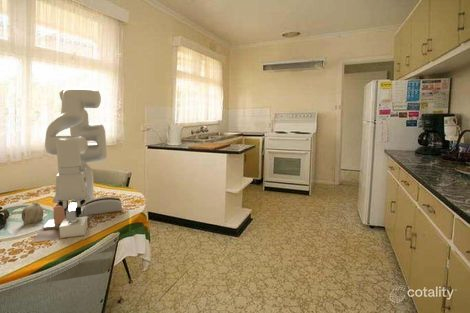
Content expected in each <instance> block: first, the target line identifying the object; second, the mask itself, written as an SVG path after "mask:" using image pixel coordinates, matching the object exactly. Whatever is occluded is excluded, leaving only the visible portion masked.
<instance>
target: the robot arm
mask: <svg viewBox="0 0 470 313" xmlns="http://www.w3.org/2000/svg"><path fill="white" fill-rule="evenodd" d="M58 95H59V98H60V100H61V108H60V115H59V116H57V117H56V118H55V119H54V120H52V121H51V122H50V123H49V125H48V126H47V128H46V131H45V140H44V148H45V151H46V153H47V154H49V155H51V156H56V159H57V174H56V176H55V189H54V191H55V195H54V197H53V199H52V203H54V204H56V203H57V204H59V205H61V206H62V207H63V208H64V212H65V216H66V210H67V208H68V207H69V205H68V202H69V201H71V200H76V202H77V207H76V211H77V217H79V216H80V214H81V207H82V206H85V203H86V202H87V201H89V200H92V199H95V198H96V197H95V191H94V190H95V188H94V171H93V168H92V167H91V166H90V164H88V163H95V162H97V163H98V162H103V161H106V159H107V138H106V137H107V136H106V130H105V127H104V124H102V123H97V122H96V123H95V122H94V123H92V122H90V120H89V114H88V111H87V110H86V109H97V108H99V107H100V105H101V102H102V97H101V96H102V95H101V93H100V91H99V90H98V89H97V88H94V89H93V88H78V87H65V88H61V89H60V91H59V94H58ZM68 129H69V130H70V135H58V134H59V133H61V132H62V131H64V130H68ZM88 142H95V143H88Z"/></svg>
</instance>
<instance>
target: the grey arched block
mask: <svg viewBox="0 0 470 313" xmlns="http://www.w3.org/2000/svg"><path fill="white" fill-rule="evenodd" d="M94 198H95V199H92V200H89V201H87V202H86V203H85V215H86V216H90V215H91V216H93V215H98V214H106V213H112V212H120V211H121V212H122V211H123V206H122V200H121V198H120V197H117V196H103V197H94Z"/></svg>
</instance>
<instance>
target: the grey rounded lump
mask: <svg viewBox="0 0 470 313" xmlns="http://www.w3.org/2000/svg"><path fill="white" fill-rule="evenodd" d="M44 215H45V214H44V209H43V207H42V206H41V204H40V203H39V202H36V201H33V202H32V204H31V203H30V204H29V205H27V206H25V207H24V208H23V209H22V211H21V220H22V221H23V223H22V224H23V225H24V226H27V225H28V224H29V225H30V224H35V223H38V222H39V221H41V220H42V219H43V217H44Z"/></svg>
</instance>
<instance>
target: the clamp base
mask: <svg viewBox="0 0 470 313" xmlns="http://www.w3.org/2000/svg"><path fill="white" fill-rule="evenodd" d="M70 203H77V202H76V200H70ZM79 217H87V221H88V219H89V217H90V215H85V206H81V214H80V216H79ZM46 222H47V221H46ZM44 225H45V226H44ZM44 225H43V226H44V227H43V226H42V227H43V230H45V229H55V228H59V226H60V225H61V224H57V225H54V218H52V219H48V222H47V223H45V224H44Z"/></svg>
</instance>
